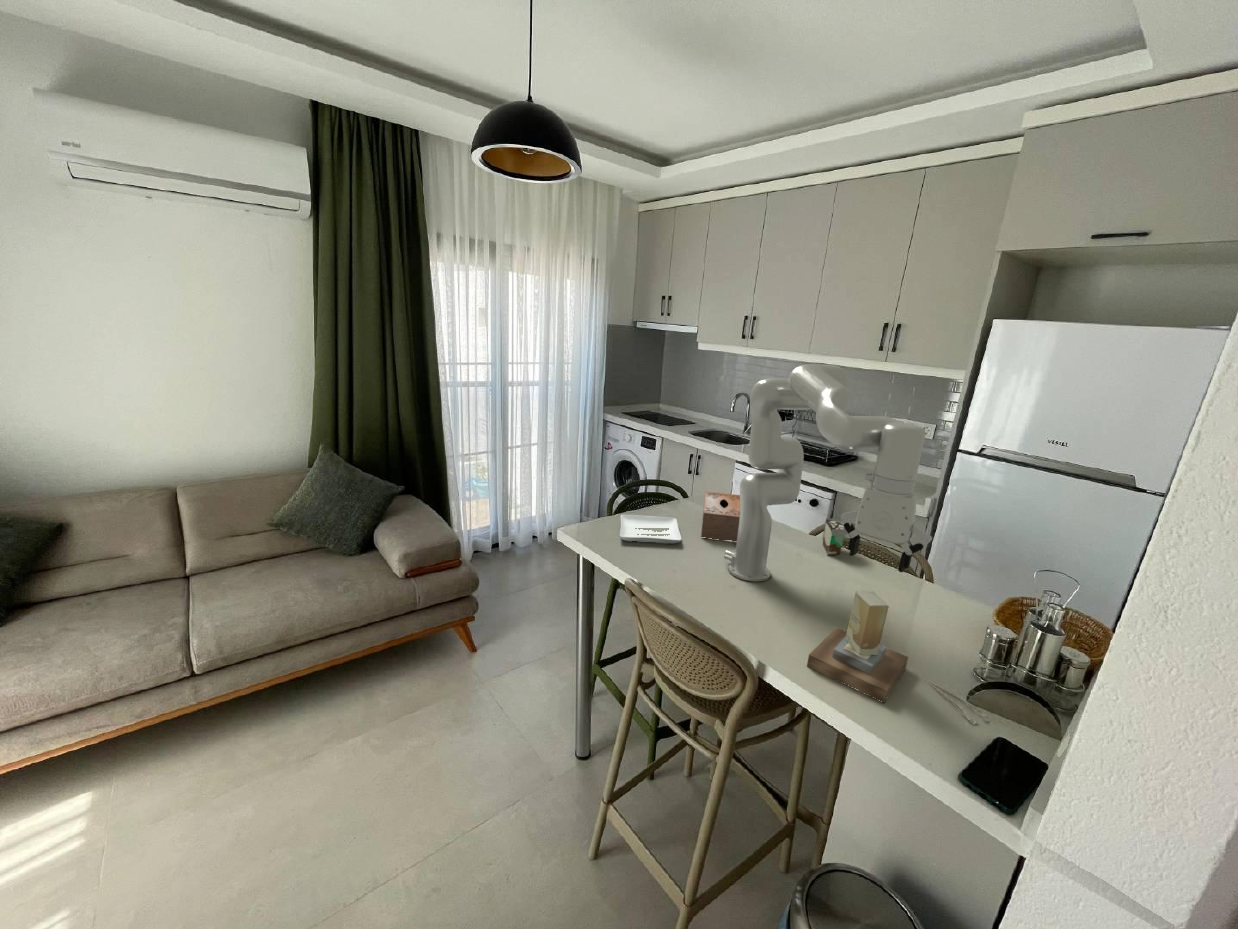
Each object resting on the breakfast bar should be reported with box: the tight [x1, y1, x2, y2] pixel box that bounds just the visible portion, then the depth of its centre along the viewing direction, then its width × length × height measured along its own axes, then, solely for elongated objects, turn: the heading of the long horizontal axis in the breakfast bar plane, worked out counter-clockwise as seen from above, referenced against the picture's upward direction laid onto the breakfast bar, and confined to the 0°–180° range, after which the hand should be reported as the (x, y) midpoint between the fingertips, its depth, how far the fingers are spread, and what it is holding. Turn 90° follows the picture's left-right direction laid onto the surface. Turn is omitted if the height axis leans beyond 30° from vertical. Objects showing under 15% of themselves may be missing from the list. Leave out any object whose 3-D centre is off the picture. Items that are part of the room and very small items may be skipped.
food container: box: [821, 517, 848, 557], centre depth 174 cm, size 12×6×10 cm, turn 168°
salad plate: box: [619, 514, 682, 545], centre depth 182 cm, size 21×21×3 cm
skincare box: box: [846, 590, 890, 655], centre depth 110 cm, size 6×4×12 cm
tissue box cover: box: [700, 491, 740, 541], centre depth 191 cm, size 26×14×10 cm, turn 169°
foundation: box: [806, 626, 909, 703], centre depth 112 cm, size 16×16×5 cm
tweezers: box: [920, 676, 990, 726], centre depth 106 cm, size 17×5×2 cm, turn 16°
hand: (876, 562), depth 107 cm, fingers open, 9 cm apart
